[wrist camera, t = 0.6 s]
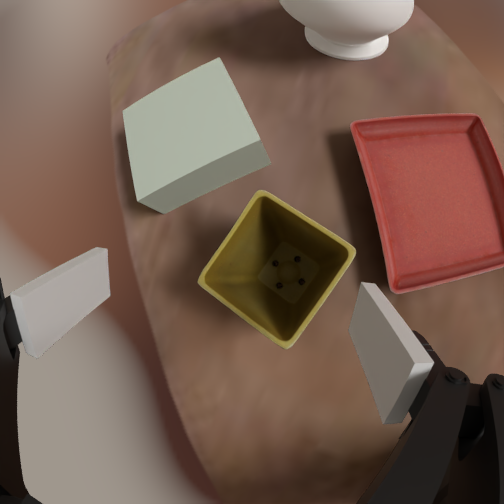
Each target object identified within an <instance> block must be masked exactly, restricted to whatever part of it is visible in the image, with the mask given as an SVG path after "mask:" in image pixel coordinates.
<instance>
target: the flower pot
mask: <svg viewBox="0 0 504 504" xmlns="http://www.w3.org/2000/svg"><path fill="white" fill-rule="evenodd" d="M355 255H356V249H355V248H354V247H353V246H352V245H351V244H349V243H348V242H346V241H345V240H343V239H342V238H340V237H339V236H337V235H336V234H334V233H332V232H331V231H329V230H328V229H326V228H324V227H323V226H321V225H320V224H318V223H317V222H315V221H313V220H312V219H310V218H309V217H307V216H306V215H304V214H302V213H301V212H299V211H298V210H296V209H294V208H293V207H291V206H290V205H288V204H287V203H285V202H284V201H282V200H280V199H279V198H277V197H276V196H274V195H272V194H271V193H269V192H267V191H265V190H258V191H257V192H256V193H255V194H254V195H253V197H252V198H251V200H250V201H249V203H248V204H247V206H246V208H245V209H244V211H243V212H242V214H241V215H240V217H239V218H238V220H237V221H236V223H235V224H234V226H233V228H232V229H231V231H230V232H229V234H228V235H227V236H226V238H225V239H224V241H223V242H222V244H221V245H220V246H219V248H218V249H217V251H216V252H215V254H214V255H213V256H212V258H211V259H210V261H209V262H208V264H207V265H206V266H205V268H204V269H203V271H202V272H201V274H200V276H199V278H198V284H199V285H200V286H201V287H202V288H203V289H205V290H206V291H207V292H209V293H210V294H211V295H212V296H214V297H215V298H216V299H217V300H219V301H220V302H221V303H223V304H224V305H225V306H227V307H228V308H229V309H230V310H232V311H233V312H234V313H236V314H237V315H238V316H240V317H241V318H242V319H243V320H245V321H246V322H247V323H249V324H250V325H251V326H253V327H254V328H255V329H257V330H258V331H259V332H261V333H262V334H263V335H265V336H266V337H267V338H269V339H270V340H271V341H273V342H274V343H275V344H277V345H278V346H280V347H282V348H283V349H289V348H290V347H292V346H293V344H294V343H295V342H296V340H297V339H298V338H299V336H300V335H301V333H302V332H303V331H304V329H305V328H306V326H307V325H308V324H309V322H310V321H311V320H312V318H313V317H314V315H315V314H316V313H317V311H318V310H319V308H320V307H321V306H322V304H323V303H324V301H325V300H326V299H327V297H328V296H329V294H330V293H331V291H332V290H333V288H334V287H335V286H336V284H337V283H338V281H339V280H340V278H341V277H342V276H343V274H344V273H345V271H346V270H347V268H348V267H349V265H350V264H351V262H352V260H353V259H354V257H355ZM296 257H300V259H301V260H300V262H296V261H295V258H296ZM274 261H278V263H279V264H278V266H274V265H273V262H274ZM300 279H304V281H305V282H304V284H302V285H301V284H300V283H299V280H300ZM278 283H281V284H282V288H278V287H277V284H278Z"/></svg>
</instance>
